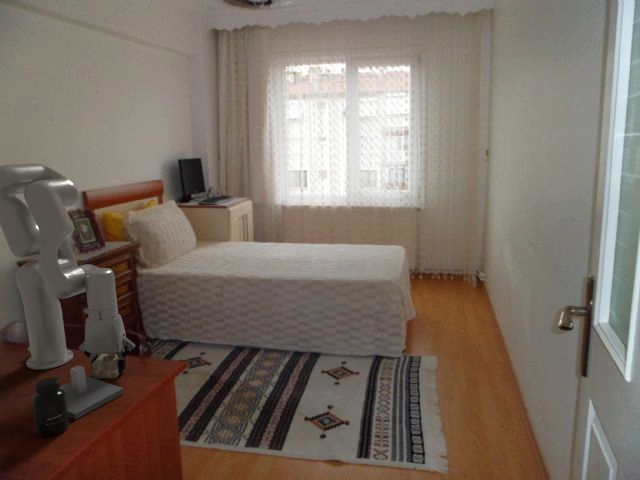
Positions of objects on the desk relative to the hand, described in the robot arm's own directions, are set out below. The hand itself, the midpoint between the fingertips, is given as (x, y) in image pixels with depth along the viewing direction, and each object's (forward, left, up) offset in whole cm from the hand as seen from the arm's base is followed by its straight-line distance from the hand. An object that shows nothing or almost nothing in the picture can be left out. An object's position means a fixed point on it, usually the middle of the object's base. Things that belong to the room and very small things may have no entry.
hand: (109, 370), depth 141 cm
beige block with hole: (0, 0, -1) cm, 1 cm away
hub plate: (+5, -13, -1) cm, 14 cm away
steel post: (+5, -13, +1) cm, 14 cm away
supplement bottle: (+12, -25, -1) cm, 28 cm away
